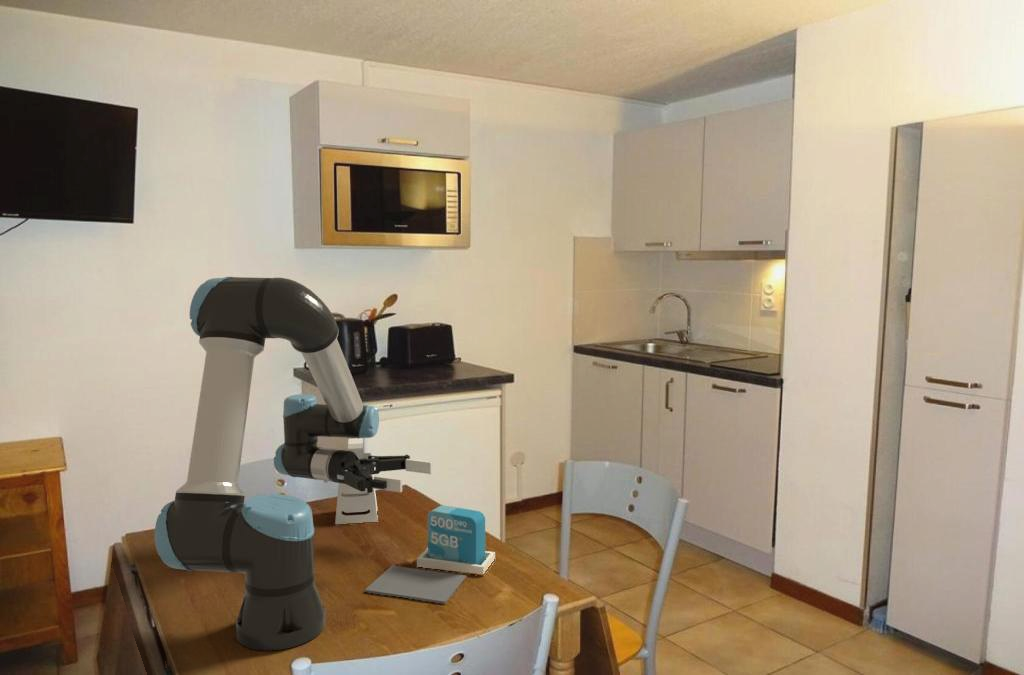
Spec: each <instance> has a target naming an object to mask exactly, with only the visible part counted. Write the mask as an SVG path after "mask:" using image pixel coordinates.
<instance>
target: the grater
mask: <svg viewBox="0 0 1024 675" xmlns="http://www.w3.org/2000/svg"><path fill="white" fill-rule="evenodd" d="M347 442H348V443H347V451H352V452H354V453H355V454H356V455H357V457H358V459H359V460H360V459H362V458H367V459H368V456H370V455H372V453H371V452H365V453H364V438H359V439H358V438H348V440H347ZM371 476H372V477H373V479H374V474H372V475H371ZM377 501H378V500H377V496H376V489H374V488H373V492H371V493H368V492H367V488H366V489H365V491H363V492H362V491H359V490H357V489H355V488H353V487H351V486H349V485H346V484H342V483H338V486H337V500H336V513H335V522H334V525H335V524H347V523H363V522H378V523H379V517H378V516H379V514H378V515H377V511H378V503H377ZM368 511H369V512H368ZM343 512H344V513H345V514H343ZM362 512H368V513H366V514H352V515H351V513H362ZM346 514H347V515H346ZM348 514H350V515H348Z"/></svg>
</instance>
